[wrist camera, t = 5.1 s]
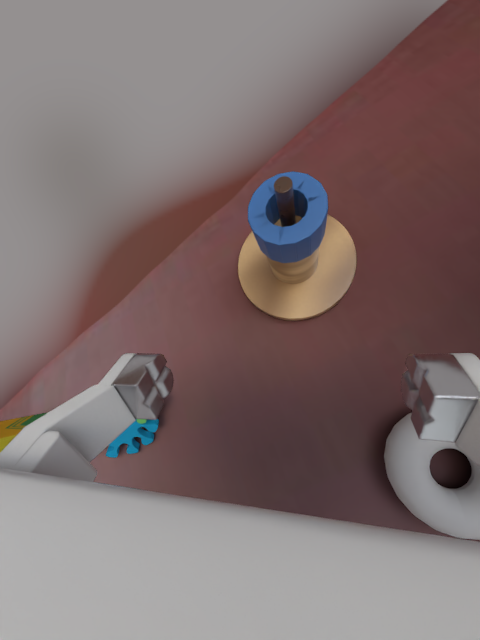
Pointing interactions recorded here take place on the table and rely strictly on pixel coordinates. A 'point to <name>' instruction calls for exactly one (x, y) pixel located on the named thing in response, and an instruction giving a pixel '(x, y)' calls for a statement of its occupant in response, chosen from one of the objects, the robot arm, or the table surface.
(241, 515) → the robot arm
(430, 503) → the donut
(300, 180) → the ring
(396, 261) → the table surface
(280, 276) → the stand
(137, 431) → the gear
